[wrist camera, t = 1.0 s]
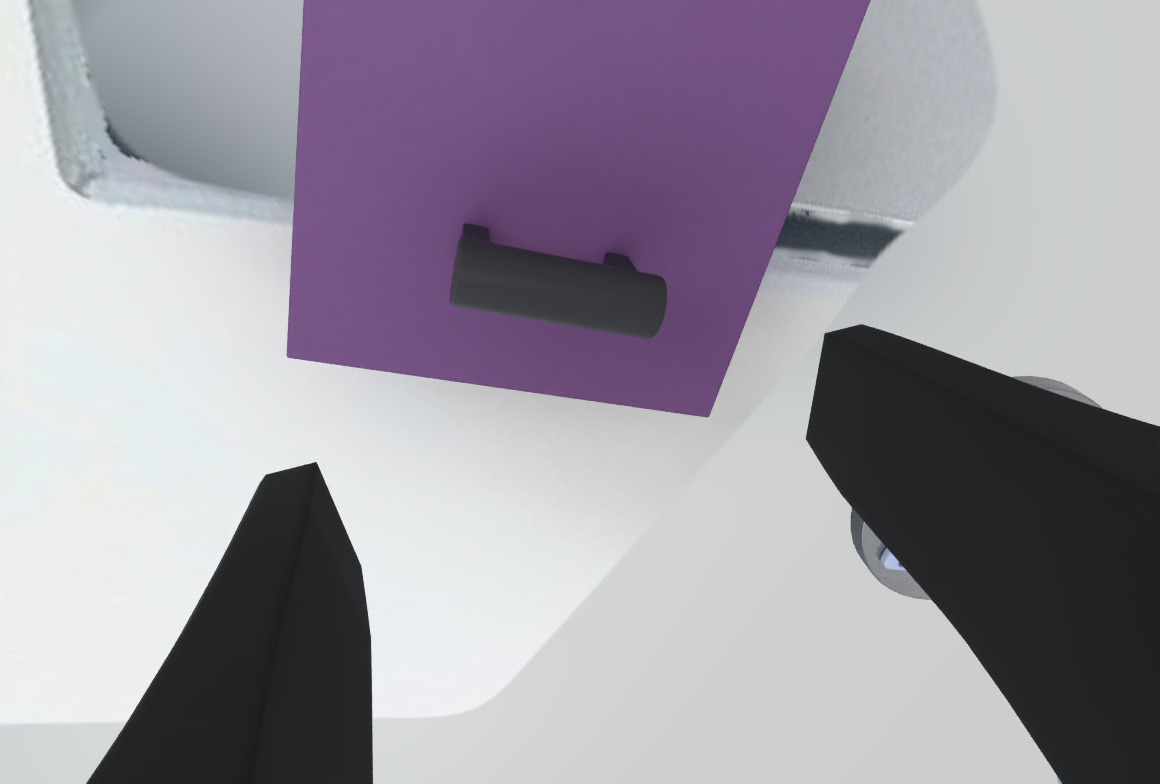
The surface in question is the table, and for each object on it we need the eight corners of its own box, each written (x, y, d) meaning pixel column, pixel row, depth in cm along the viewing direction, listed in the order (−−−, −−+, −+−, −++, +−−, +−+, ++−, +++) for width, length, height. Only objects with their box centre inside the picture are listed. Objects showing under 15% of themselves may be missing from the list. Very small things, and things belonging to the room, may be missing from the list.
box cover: (319, -216, 14) (264, -302, 10) (869, -27, 17) (986, -37, 13) (290, 348, 20) (249, 430, 16) (703, 409, 23) (751, 488, 19)
